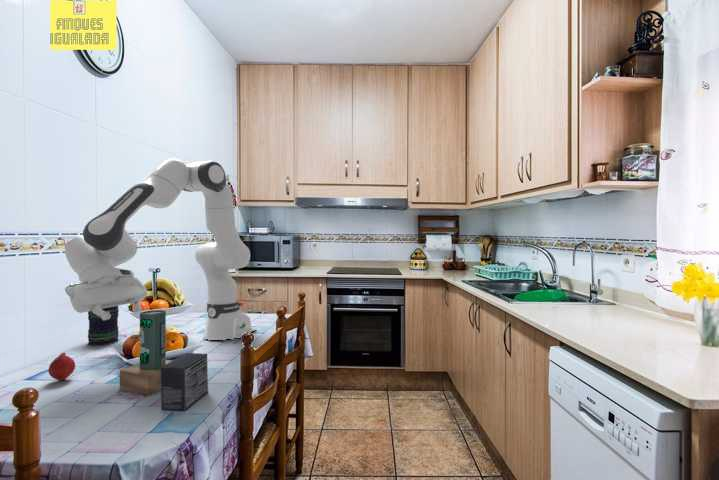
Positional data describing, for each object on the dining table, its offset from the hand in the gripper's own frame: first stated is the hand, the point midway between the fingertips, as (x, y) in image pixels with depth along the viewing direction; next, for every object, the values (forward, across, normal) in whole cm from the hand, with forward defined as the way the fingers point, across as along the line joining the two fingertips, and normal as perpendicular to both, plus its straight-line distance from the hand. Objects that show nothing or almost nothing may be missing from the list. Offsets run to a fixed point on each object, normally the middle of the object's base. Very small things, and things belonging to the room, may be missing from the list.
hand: (123, 315), depth 107 cm
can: (+19, -2, 0) cm, 19 cm away
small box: (+34, -6, -8) cm, 36 cm away
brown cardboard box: (+22, -2, +3) cm, 22 cm away
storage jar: (-16, +20, +42) cm, 50 cm away
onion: (+4, -10, +22) cm, 24 cm away
